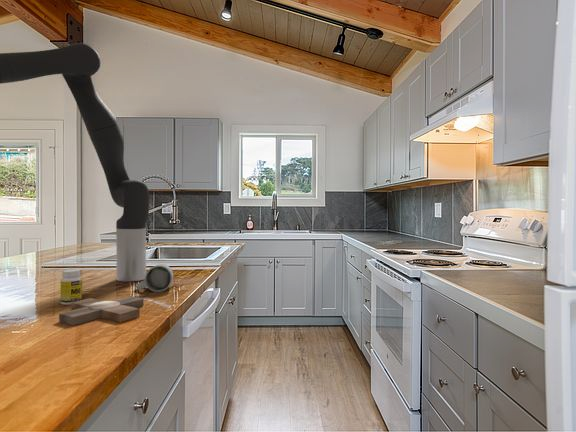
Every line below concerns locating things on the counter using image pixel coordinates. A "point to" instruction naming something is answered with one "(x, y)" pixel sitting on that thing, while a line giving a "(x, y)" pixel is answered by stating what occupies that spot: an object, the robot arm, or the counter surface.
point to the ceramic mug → (157, 278)
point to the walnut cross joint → (102, 310)
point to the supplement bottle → (71, 286)
